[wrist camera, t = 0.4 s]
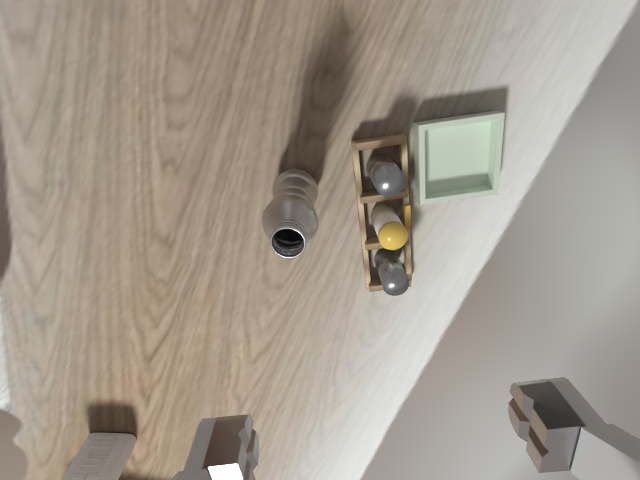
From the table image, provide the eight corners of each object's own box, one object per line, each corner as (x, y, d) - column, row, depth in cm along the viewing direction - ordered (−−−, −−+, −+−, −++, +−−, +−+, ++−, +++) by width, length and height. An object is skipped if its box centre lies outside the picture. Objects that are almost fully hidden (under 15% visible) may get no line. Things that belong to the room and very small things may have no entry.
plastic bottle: (306, 212, 56) (304, 279, 38) (267, 194, 55) (246, 255, 37) (324, 176, 54) (331, 230, 36) (284, 157, 53) (270, 203, 34)
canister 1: (365, 156, 53) (373, 169, 46) (391, 152, 53) (404, 165, 45) (367, 181, 54) (376, 198, 47) (393, 178, 54) (405, 194, 47)
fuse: (369, 205, 56) (377, 225, 49) (395, 202, 56) (407, 221, 49) (371, 229, 58) (379, 251, 51) (396, 225, 58) (408, 247, 51)
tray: (412, 122, 51) (418, 125, 48) (494, 110, 50) (504, 112, 48) (414, 198, 56) (420, 205, 53) (489, 188, 55) (498, 194, 53)
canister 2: (373, 250, 60) (381, 275, 52) (397, 247, 59) (408, 271, 52) (375, 270, 61) (383, 297, 54) (398, 267, 61) (409, 293, 54)
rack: (350, 141, 52) (352, 144, 49) (404, 133, 51) (408, 135, 49) (365, 284, 62) (367, 292, 60) (409, 278, 62) (413, 286, 60)
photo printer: (91, 443, 79) (56, 504, 68) (87, 430, 77) (49, 491, 66) (138, 443, 80) (110, 504, 69) (135, 431, 78) (105, 491, 67)
